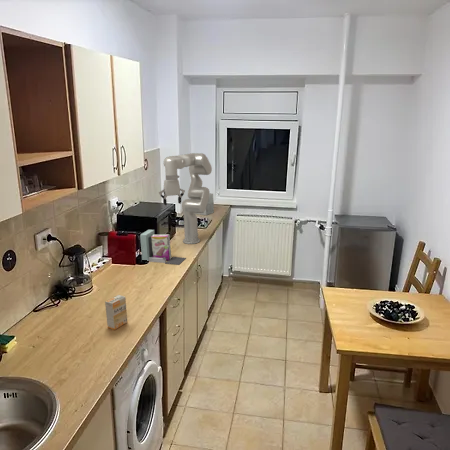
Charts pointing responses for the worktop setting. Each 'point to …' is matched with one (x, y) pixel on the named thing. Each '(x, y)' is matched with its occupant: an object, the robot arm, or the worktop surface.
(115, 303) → the supplement box
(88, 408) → the worktop surface
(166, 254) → the candy bar box
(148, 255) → the dispenser
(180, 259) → the mat
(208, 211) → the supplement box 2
